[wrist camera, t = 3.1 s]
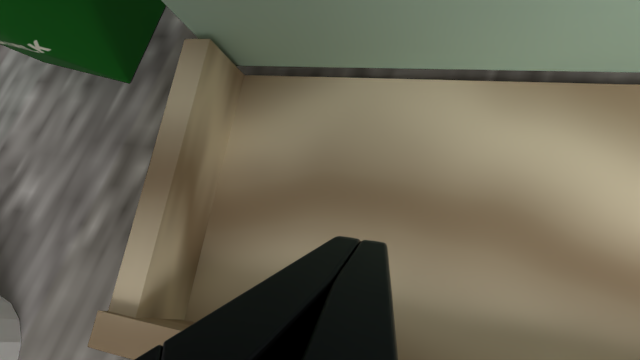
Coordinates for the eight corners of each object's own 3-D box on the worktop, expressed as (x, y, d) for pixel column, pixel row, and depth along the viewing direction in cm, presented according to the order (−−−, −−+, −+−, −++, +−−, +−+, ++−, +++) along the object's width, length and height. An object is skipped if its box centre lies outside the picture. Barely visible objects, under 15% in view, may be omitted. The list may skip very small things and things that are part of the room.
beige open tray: (794, 502, 14) (946, 587, 9) (173, 343, 21) (87, 346, 16) (779, 108, 16) (890, 23, 12) (236, 89, 24) (177, 32, 19)
